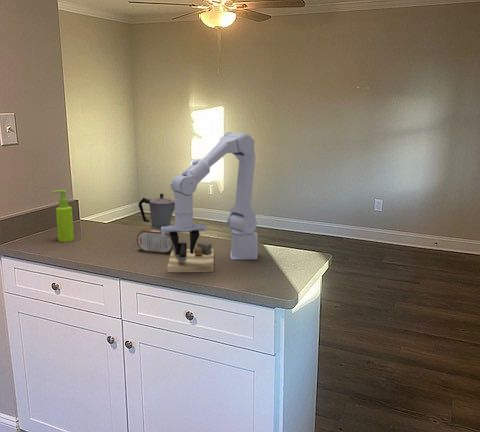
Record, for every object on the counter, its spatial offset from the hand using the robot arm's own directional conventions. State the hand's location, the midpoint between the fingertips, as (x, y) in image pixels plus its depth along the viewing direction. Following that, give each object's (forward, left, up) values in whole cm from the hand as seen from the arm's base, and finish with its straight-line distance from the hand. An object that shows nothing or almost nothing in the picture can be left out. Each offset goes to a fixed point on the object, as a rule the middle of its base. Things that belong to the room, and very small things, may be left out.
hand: (184, 253), depth 161 cm
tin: (+11, -21, -6) cm, 24 cm away
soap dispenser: (+49, -38, -6) cm, 62 cm away
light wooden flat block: (-2, -8, -6) cm, 10 cm away
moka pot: (+11, -31, -6) cm, 33 cm away
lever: (+2, -7, -4) cm, 8 cm away
